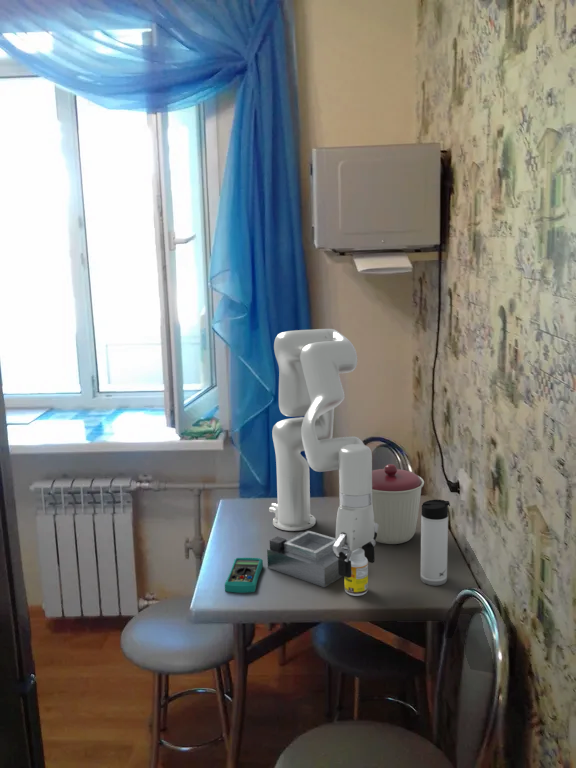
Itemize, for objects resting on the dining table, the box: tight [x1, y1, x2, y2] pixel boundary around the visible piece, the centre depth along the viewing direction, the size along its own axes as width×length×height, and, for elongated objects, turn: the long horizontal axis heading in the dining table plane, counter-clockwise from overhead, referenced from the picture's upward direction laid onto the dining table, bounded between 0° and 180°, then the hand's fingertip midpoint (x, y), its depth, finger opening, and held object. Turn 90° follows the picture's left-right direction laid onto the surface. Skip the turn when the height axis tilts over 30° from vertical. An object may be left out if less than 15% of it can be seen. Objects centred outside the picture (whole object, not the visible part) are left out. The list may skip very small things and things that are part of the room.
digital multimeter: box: [224, 557, 264, 594], centre depth 175 cm, size 7×15×3 cm, turn 174°
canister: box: [372, 463, 425, 545], centre depth 196 cm, size 18×18×21 cm
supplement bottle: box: [343, 547, 369, 597], centre depth 166 cm, size 6×6×10 cm
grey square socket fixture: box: [266, 530, 349, 589], centre depth 179 cm, size 18×14×7 cm
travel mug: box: [420, 499, 451, 586], centre depth 170 cm, size 6×7×20 cm
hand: (356, 568), depth 166 cm, fingers open, 9 cm apart
